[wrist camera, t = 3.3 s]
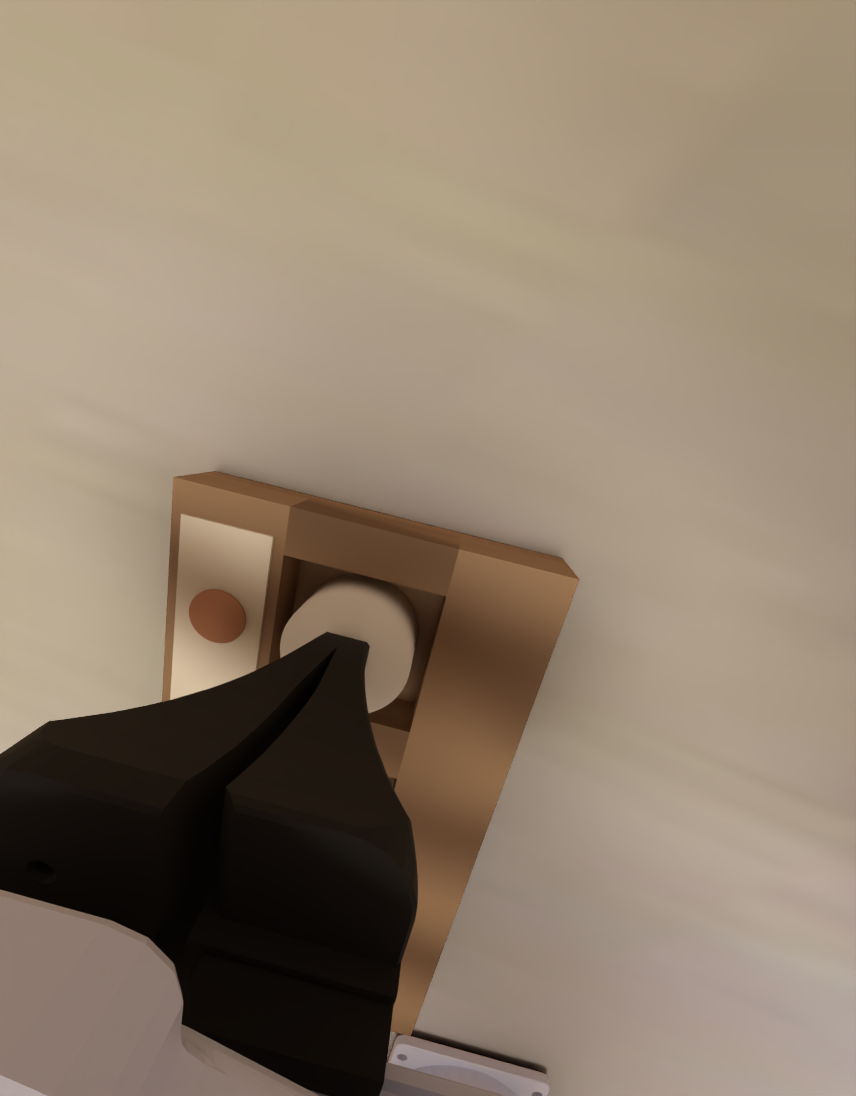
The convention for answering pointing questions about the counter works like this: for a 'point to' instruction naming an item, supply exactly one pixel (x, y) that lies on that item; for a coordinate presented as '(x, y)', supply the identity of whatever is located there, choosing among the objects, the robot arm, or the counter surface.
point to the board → (437, 667)
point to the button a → (362, 629)
